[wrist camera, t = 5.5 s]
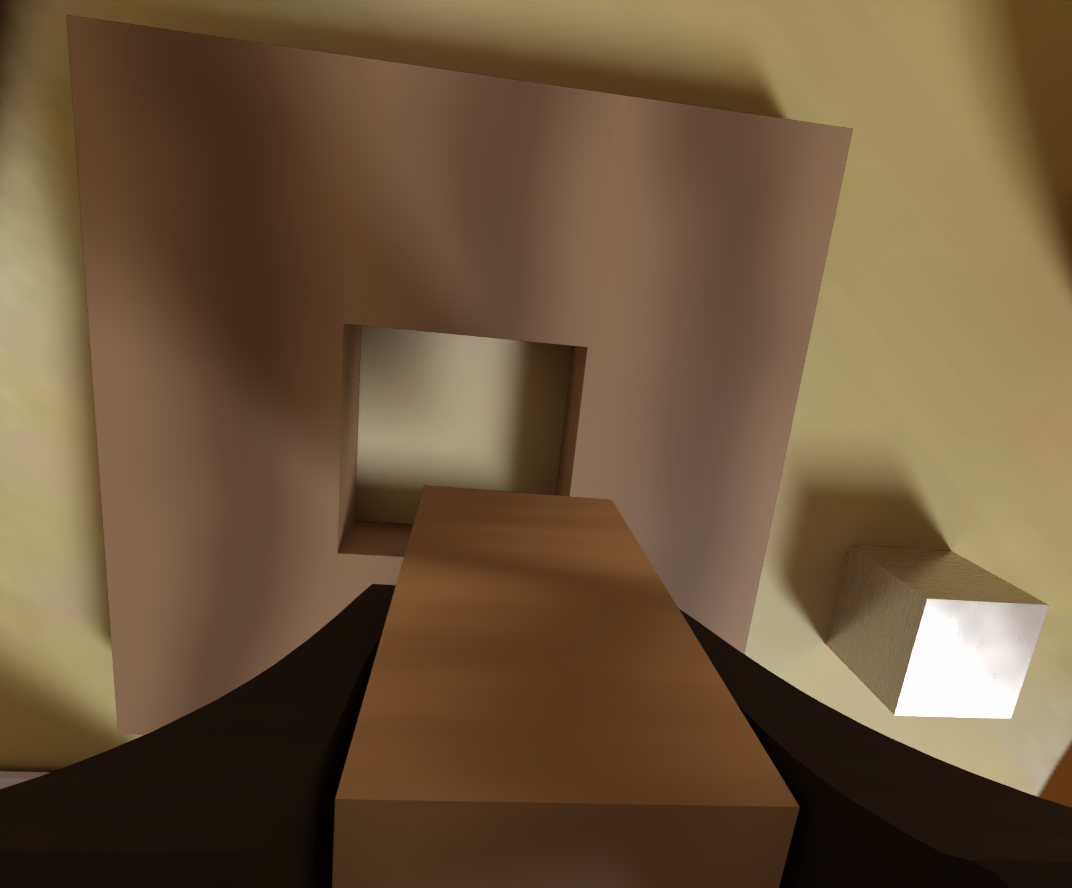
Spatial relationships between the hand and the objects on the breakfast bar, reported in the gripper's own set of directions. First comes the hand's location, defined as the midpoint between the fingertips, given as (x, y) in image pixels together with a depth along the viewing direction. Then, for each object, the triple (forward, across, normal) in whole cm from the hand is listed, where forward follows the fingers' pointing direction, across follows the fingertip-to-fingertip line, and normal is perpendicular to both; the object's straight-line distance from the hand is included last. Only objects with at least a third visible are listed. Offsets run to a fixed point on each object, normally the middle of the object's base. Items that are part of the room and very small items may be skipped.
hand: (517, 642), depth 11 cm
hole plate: (+9, +1, -2) cm, 10 cm away
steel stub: (+10, -15, +3) cm, 18 cm away
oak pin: (+3, 0, 0) cm, 3 cm away
